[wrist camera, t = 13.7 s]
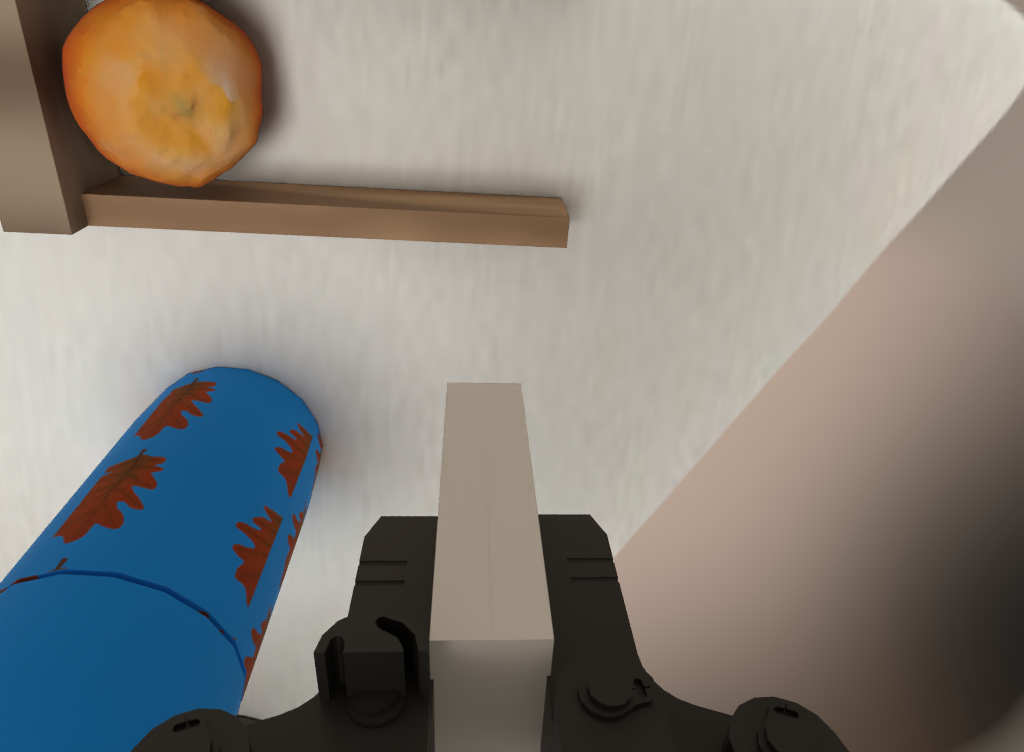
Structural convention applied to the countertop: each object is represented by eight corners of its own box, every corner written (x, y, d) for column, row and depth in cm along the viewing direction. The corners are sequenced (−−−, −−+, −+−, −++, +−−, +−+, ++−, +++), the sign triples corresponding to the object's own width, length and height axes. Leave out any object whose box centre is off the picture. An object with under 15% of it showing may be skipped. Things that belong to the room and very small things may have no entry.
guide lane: (558, 225, 38) (570, 257, 33) (67, 201, 36) (3, 231, 32) (583, -40, 32) (601, -48, 27) (-2, -83, 31) (-93, -99, 26)
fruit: (51, -54, 30) (71, -27, 25) (240, -1, 35) (291, 31, 29) (51, 133, 34) (69, 192, 28) (223, 158, 38) (265, 212, 33)
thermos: (131, 473, 45) (-208, 928, 23) (172, 336, 40) (-200, 737, 18) (295, 527, 47) (133, 983, 25) (350, 405, 43) (212, 827, 21)
